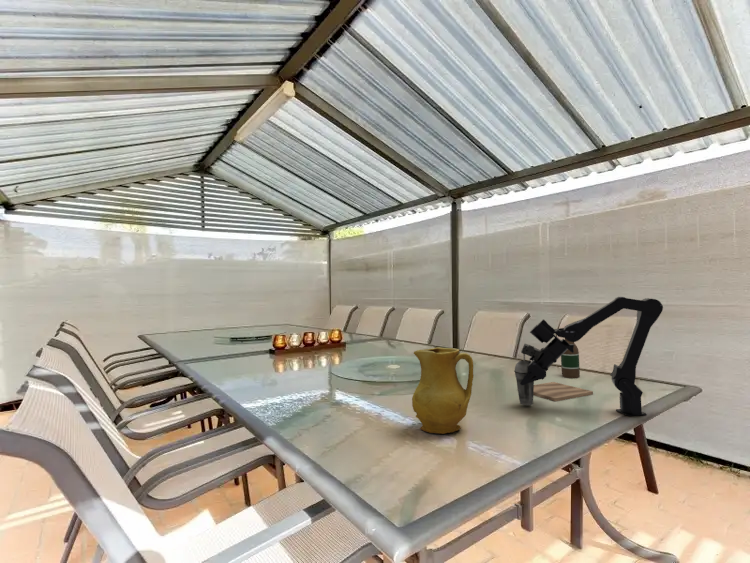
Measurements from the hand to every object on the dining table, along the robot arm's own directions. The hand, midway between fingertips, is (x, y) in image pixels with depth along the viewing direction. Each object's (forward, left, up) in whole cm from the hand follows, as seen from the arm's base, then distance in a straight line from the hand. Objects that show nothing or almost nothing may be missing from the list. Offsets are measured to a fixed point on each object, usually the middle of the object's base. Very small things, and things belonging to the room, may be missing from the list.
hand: (521, 382), depth 153 cm
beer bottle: (+42, -41, -9) cm, 60 cm away
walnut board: (+16, -20, -9) cm, 27 cm away
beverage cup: (-1, -1, -8) cm, 8 cm away
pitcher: (-20, +34, -9) cm, 40 cm away
